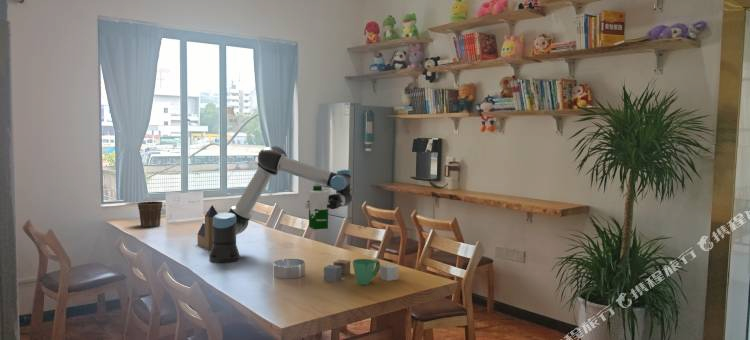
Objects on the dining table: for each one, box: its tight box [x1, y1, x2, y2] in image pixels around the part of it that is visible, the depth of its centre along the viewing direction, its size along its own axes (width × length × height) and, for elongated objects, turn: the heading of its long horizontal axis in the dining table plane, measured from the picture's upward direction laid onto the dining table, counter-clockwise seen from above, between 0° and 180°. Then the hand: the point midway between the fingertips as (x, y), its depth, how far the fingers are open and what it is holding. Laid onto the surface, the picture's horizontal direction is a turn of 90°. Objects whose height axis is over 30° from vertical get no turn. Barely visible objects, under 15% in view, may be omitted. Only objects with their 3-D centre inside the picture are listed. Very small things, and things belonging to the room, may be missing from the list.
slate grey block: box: [323, 264, 343, 283], centre depth 245 cm, size 6×6×6 cm
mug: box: [352, 258, 381, 286], centre depth 241 cm, size 15×10×10 cm
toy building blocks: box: [197, 205, 219, 252], centre depth 308 cm, size 12×19×25 cm
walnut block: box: [332, 259, 351, 277], centre depth 255 cm, size 6×6×6 cm
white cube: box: [379, 263, 399, 282], centre depth 249 cm, size 6×6×6 cm
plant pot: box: [137, 200, 164, 228], centre depth 369 cm, size 16×16×16 cm
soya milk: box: [308, 185, 330, 230], centre depth 258 cm, size 9×9×20 cm
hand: (314, 206), depth 253 cm, fingers closed on soya milk, 8 cm apart
